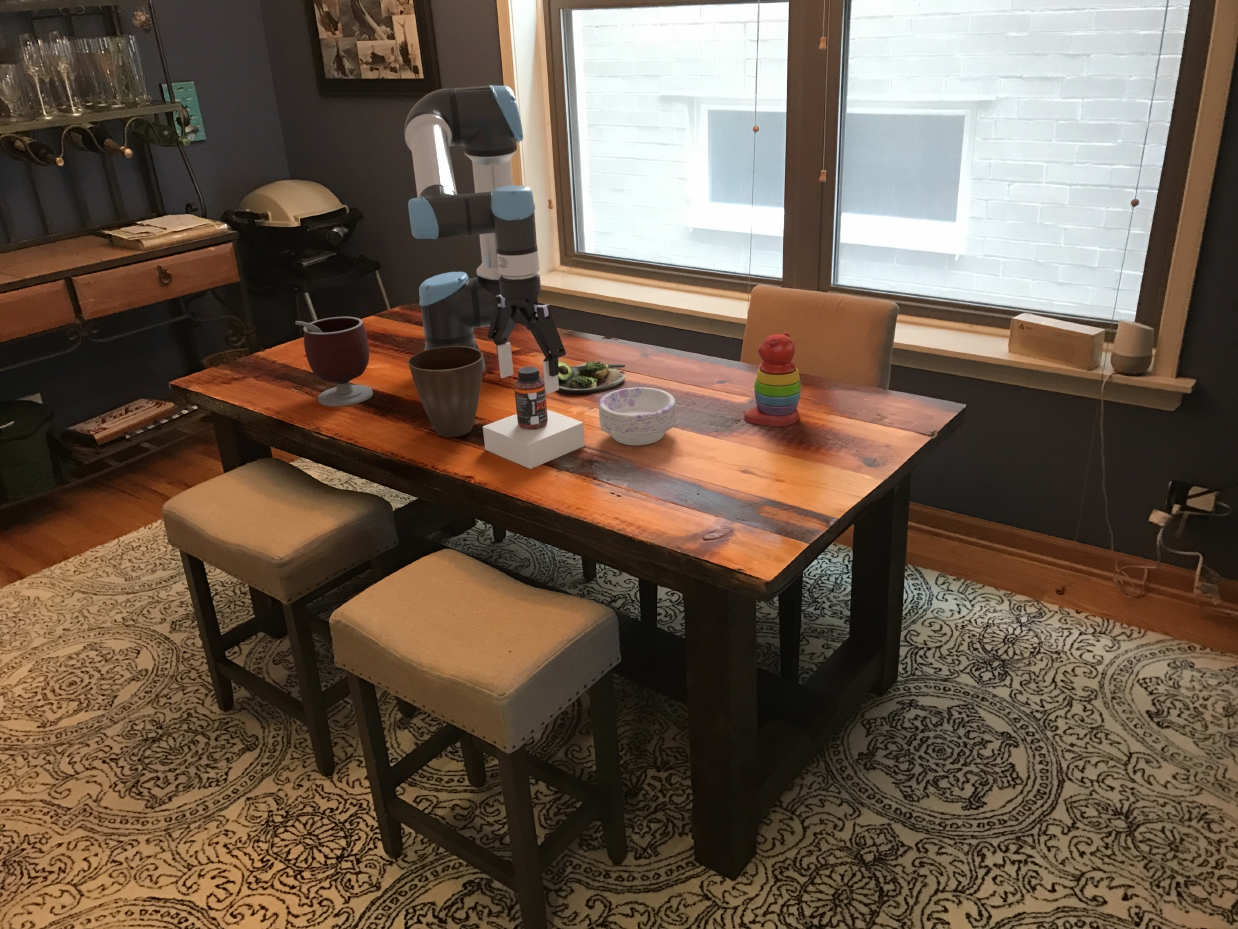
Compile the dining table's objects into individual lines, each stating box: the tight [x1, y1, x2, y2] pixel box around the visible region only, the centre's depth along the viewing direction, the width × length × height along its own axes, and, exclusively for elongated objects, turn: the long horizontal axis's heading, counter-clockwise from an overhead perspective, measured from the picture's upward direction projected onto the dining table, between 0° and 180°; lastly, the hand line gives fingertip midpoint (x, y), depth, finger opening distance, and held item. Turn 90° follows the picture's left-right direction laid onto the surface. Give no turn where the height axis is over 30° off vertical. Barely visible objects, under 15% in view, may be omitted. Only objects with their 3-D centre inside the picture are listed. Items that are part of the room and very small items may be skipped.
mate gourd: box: [294, 316, 374, 407], centre depth 222 cm, size 16×14×20 cm
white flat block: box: [482, 409, 586, 470], centre depth 194 cm, size 14×14×5 cm
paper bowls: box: [598, 386, 677, 447], centre depth 196 cm, size 15×15×8 cm
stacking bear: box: [743, 331, 802, 427], centre depth 199 cm, size 11×10×18 cm
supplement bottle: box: [513, 366, 548, 429], centre depth 190 cm, size 6×6×11 cm
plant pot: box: [407, 346, 484, 438], centre depth 202 cm, size 15×15×16 cm
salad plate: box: [557, 360, 626, 396], centre depth 229 cm, size 19×18×5 cm
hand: (529, 383), depth 189 cm, fingers open, 13 cm apart
